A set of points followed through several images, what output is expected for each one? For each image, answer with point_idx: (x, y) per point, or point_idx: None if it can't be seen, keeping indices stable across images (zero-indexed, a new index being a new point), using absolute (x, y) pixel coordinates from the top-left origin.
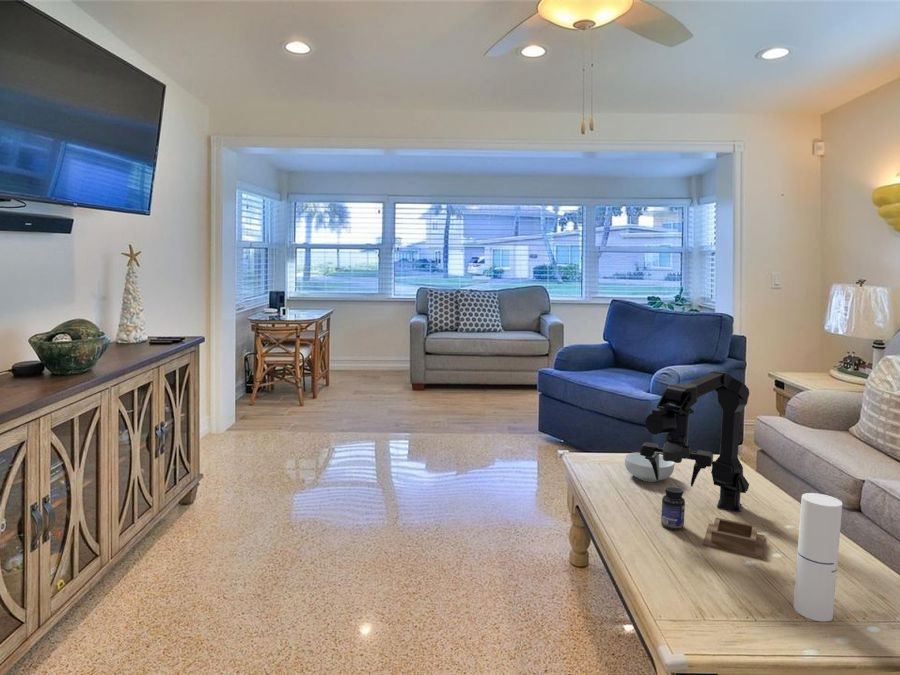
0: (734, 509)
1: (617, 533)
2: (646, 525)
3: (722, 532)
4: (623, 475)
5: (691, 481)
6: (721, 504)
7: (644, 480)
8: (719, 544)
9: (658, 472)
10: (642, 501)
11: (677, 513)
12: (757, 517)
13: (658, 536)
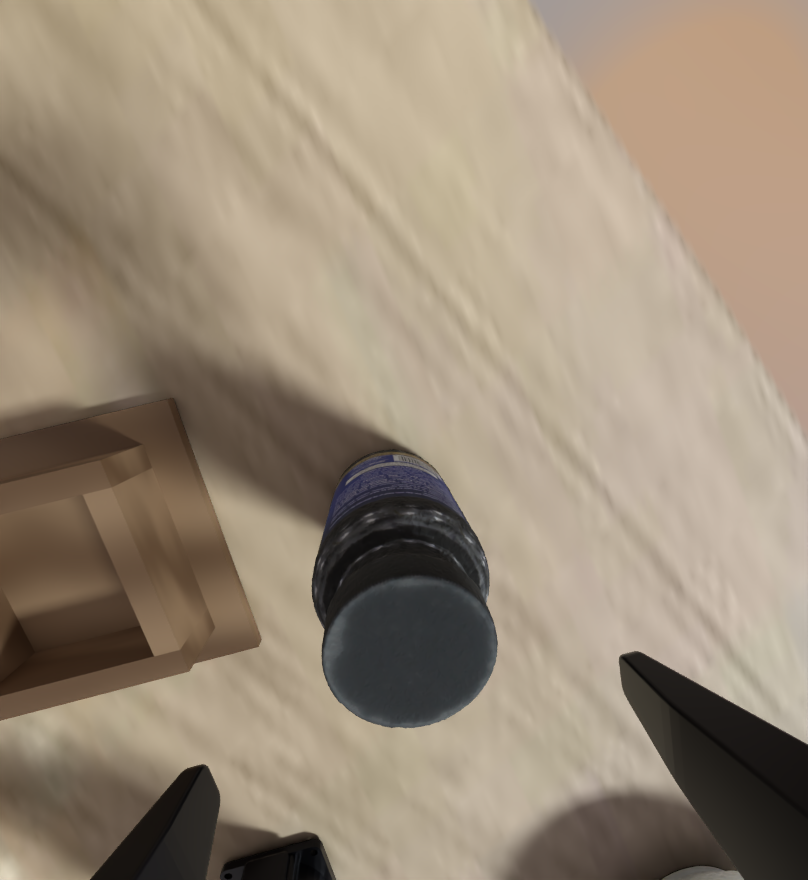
0: (244, 868)
1: (579, 192)
2: (496, 414)
3: (46, 495)
4: None
5: (149, 850)
6: (306, 872)
7: (693, 870)
8: (98, 450)
9: (710, 788)
10: None
11: (343, 500)
12: None
13: (392, 329)
